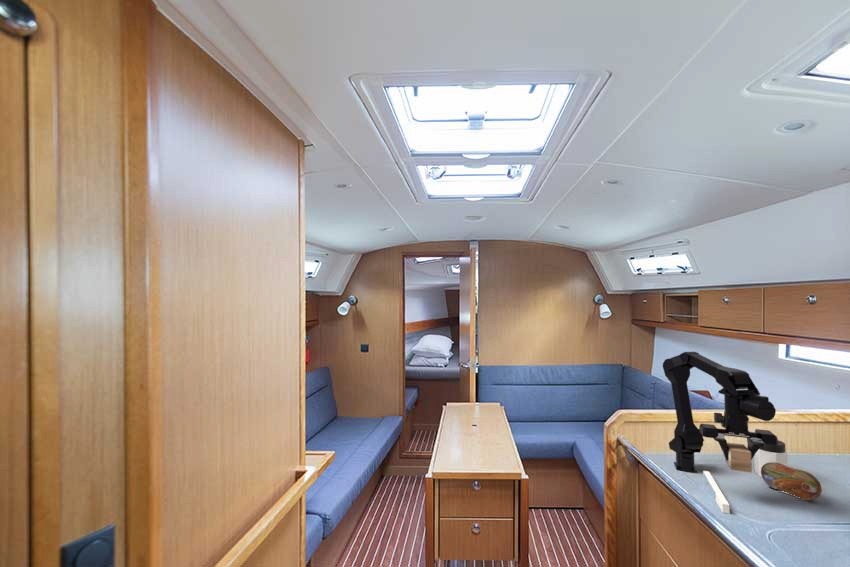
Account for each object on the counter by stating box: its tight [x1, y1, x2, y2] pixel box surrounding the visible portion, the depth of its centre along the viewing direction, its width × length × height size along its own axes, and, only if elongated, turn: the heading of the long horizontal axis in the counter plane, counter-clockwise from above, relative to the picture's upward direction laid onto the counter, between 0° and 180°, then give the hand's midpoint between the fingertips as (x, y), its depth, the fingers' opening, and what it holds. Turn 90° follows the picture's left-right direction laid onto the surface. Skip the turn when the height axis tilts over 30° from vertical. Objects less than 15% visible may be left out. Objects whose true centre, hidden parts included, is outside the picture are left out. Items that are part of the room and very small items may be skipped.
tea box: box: [724, 442, 753, 473], centre depth 125 cm, size 7×5×6 cm
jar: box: [753, 439, 788, 478], centre depth 140 cm, size 9×8×12 cm
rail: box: [702, 470, 731, 514], centre depth 127 cm, size 24×2×2 cm, turn 156°
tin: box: [761, 462, 823, 502], centre depth 127 cm, size 15×3×8 cm, turn 21°
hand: (737, 461), depth 125 cm, fingers closed on tea box, 5 cm apart
